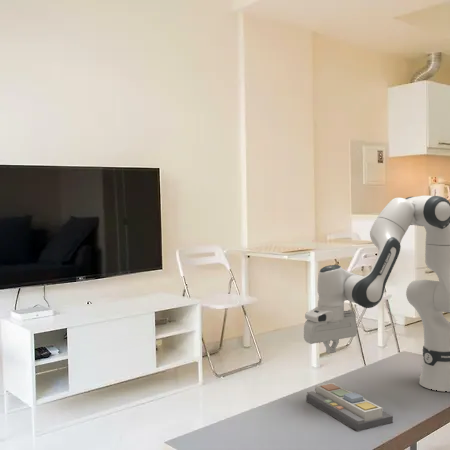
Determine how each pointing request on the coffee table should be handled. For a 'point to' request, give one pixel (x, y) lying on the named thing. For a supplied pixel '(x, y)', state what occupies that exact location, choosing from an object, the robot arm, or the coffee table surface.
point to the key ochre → (366, 406)
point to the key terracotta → (330, 387)
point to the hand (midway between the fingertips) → (331, 352)
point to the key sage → (340, 393)
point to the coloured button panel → (347, 409)
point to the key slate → (353, 397)
